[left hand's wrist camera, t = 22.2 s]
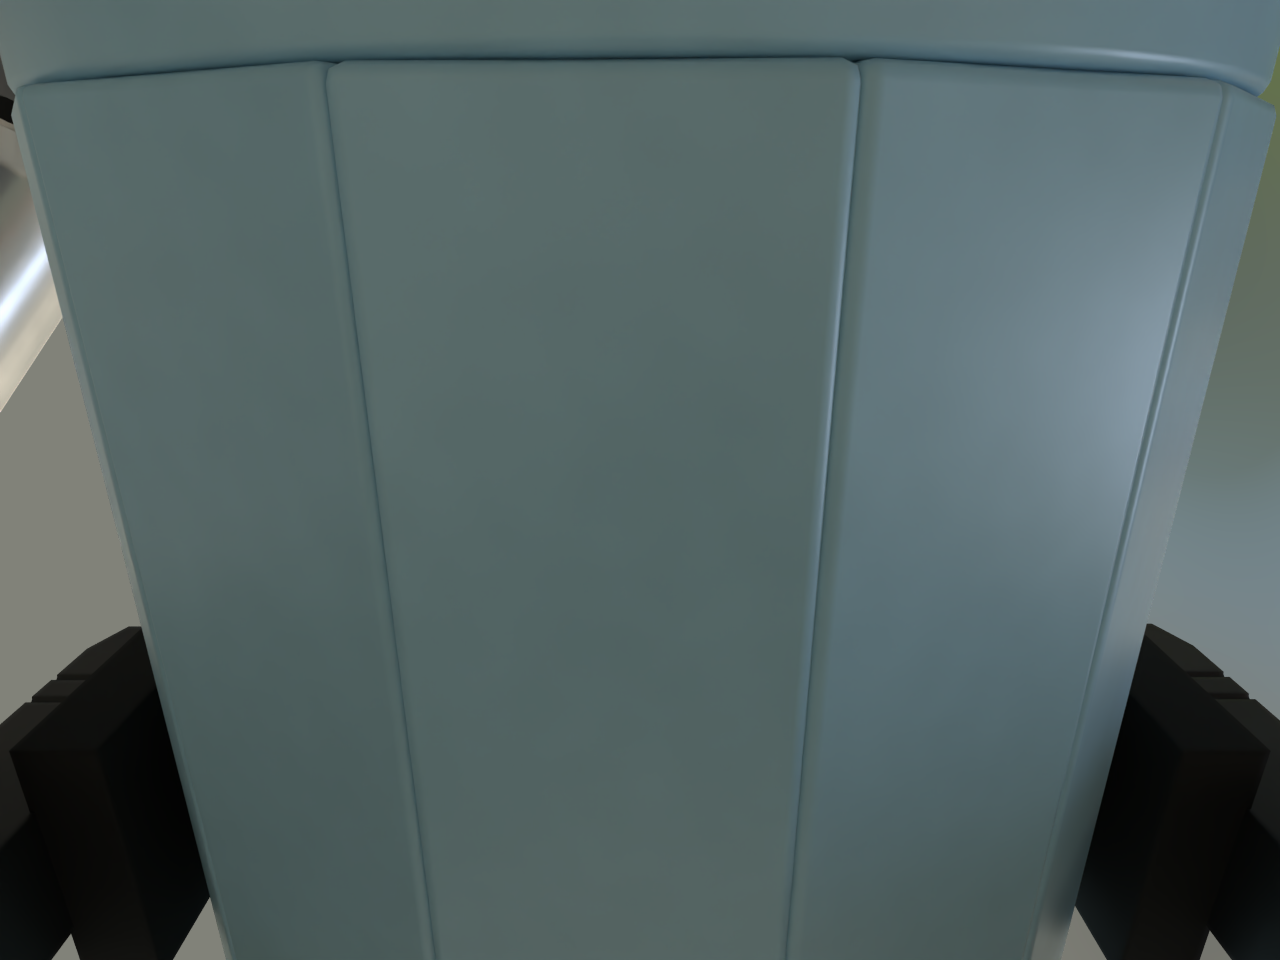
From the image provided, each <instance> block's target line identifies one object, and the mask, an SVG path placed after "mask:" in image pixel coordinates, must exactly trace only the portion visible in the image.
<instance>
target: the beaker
mask: <svg viewBox="0 0 1280 960" xmlns="http://www.w3.org/2000/svg"><path fill="white" fill-rule="evenodd" d="M1279 46H1280V0H0V56H1V60H2V64H3V68H4V72H5V76H6V80H7V84H8V86H9V87H10V89H11V90H12V91H13V93H14V94H15V100H14V104H13V109H12V114H11V116H12V120H13V124H14V128H15V132H16V136H17V140H18V144H19V148H20V152H21V155H22V159H23V163H24V167H25V171H26V175H27V179H28V183H29V187H30V191H31V195H32V199H33V203H34V207H35V210H36V214H37V218H38V222H39V226H40V230H41V234H42V238H43V242H44V246H45V250H46V254H47V258H48V262H49V266H50V269H51V273H52V277H53V281H54V285H55V289H56V293H57V297H58V301H59V305H60V309H61V313H62V317H63V321H64V324H65V328H66V332H67V336H68V340H69V344H70V348H71V352H72V356H73V360H74V364H75V368H76V372H77V376H78V379H79V383H80V387H81V391H82V395H83V399H84V403H85V407H86V411H87V415H88V419H89V422H90V427H91V431H92V434H93V438H94V442H95V446H96V450H97V454H98V458H99V462H100V466H101V470H102V474H103V478H104V482H105V486H106V490H107V493H108V497H109V501H110V505H111V509H112V513H113V517H114V521H115V525H116V529H117V533H118V537H119V541H120V545H121V549H122V552H123V556H124V560H125V564H126V568H127V572H128V576H129V580H130V584H131V588H132V592H133V595H134V599H135V604H136V607H137V611H138V615H139V619H140V623H141V627H142V631H143V635H144V639H145V643H146V647H147V651H148V655H149V659H150V663H151V666H152V670H153V674H154V678H155V682H156V686H157V690H158V694H159V698H160V702H161V706H162V710H163V714H164V718H165V721H166V725H167V729H168V733H169V737H170V741H171V745H172V749H173V753H174V757H175V761H176V765H177V769H178V773H179V776H180V780H181V784H182V788H183V792H184V796H185V800H186V804H187V808H188V812H189V816H190V820H191V824H192V828H193V832H194V835H195V839H196V843H197V847H198V851H199V855H200V859H201V863H202V867H203V871H204V875H205V879H206V883H207V887H208V890H209V894H210V898H211V902H212V906H213V910H214V914H215V918H216V922H217V926H218V930H219V934H220V938H221V942H222V945H223V949H224V953H225V957H226V960H1061V957H1062V953H1063V950H1064V946H1065V942H1066V938H1067V934H1068V930H1069V926H1070V922H1071V918H1072V914H1073V910H1074V907H1075V903H1076V899H1077V895H1078V891H1079V887H1080V883H1081V879H1082V875H1083V871H1084V867H1085V863H1086V860H1087V856H1088V852H1089V848H1090V844H1091V840H1092V836H1093V832H1094V828H1095V824H1096V820H1097V816H1098V813H1099V809H1100V805H1101V801H1102V797H1103V793H1104V789H1105V785H1106V781H1107V777H1108V773H1109V769H1110V766H1111V762H1112V758H1113V754H1114V750H1115V746H1116V742H1117V738H1118V734H1119V730H1120V726H1121V722H1122V719H1123V715H1124V711H1125V707H1126V703H1127V699H1128V695H1129V691H1130V687H1131V683H1132V679H1133V675H1134V672H1135V668H1136V664H1137V660H1138V656H1139V652H1140V648H1141V644H1142V640H1143V636H1144V632H1145V628H1146V624H1147V621H1148V617H1149V613H1150V609H1151V605H1152V601H1153V597H1154V593H1155V589H1156V585H1157V581H1158V577H1159V573H1160V570H1161V566H1162V562H1163V558H1164V554H1165V550H1166V546H1167V542H1168V538H1169V534H1170V530H1171V527H1172V523H1173V519H1174V515H1175V511H1176V507H1177V503H1178V499H1179V495H1180V491H1181V487H1182V483H1183V479H1184V476H1185V472H1186V468H1187V464H1188V460H1189V456H1190V452H1191V448H1192V444H1193V440H1194V436H1195V433H1196V429H1197V425H1198V421H1199V417H1200V413H1201V409H1202V405H1203V401H1204V397H1205V393H1206V389H1207V386H1208V382H1209V378H1210V374H1211V370H1212V366H1213V362H1214V358H1215V354H1216V350H1217V346H1218V342H1219V338H1220V335H1221V331H1222V327H1223V323H1224V319H1225V315H1226V311H1227V307H1228V303H1229V299H1230V295H1231V291H1232V288H1233V283H1234V280H1235V276H1236V272H1237V268H1238V264H1239V260H1240V256H1241V252H1242V248H1243V244H1244V241H1245V237H1246V233H1247V229H1248V225H1249V221H1250V217H1251V213H1252V209H1253V205H1254V201H1255V197H1256V193H1257V190H1258V186H1259V182H1260V178H1261V174H1262V170H1263V166H1264V162H1265V158H1266V154H1267V150H1268V146H1269V143H1270V139H1271V135H1272V131H1273V127H1274V123H1275V119H1276V112H1275V108H1274V105H1272V104H1270V103H1268V102H1266V101H1264V100H1262V99H1260V98H1258V97H1257V96H1259V95H1260V94H1262V93H1263V92H1264V90H1265V89H1266V87H1267V86H1268V84H1269V83H1270V82H1271V78H1272V74H1273V70H1274V66H1275V62H1276V58H1277V54H1278V50H1279Z"/></svg>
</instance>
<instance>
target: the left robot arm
mask: <svg viewBox="0 0 1280 960" xmlns="http://www.w3.org/2000/svg"><path fill="white" fill-rule="evenodd" d="M209 897H210V894H209V890H208V887H207V883H206V879H205V875H204V871H203V867H202V863H201V859H200V855H199V851H198V847H197V843H196V839H195V835H194V832H193V828H192V824H191V820H190V816H189V812H188V808H187V804H186V800H185V796H184V792H183V788H182V784H181V780H180V776H179V773H178V769H177V765H176V761H175V757H174V753H173V749H172V745H171V741H170V737H169V733H168V729H167V725H166V721H165V718H164V714H163V710H162V706H161V702H160V698H159V694H158V690H157V686H156V682H155V678H154V674H153V670H152V666H151V663H150V659H149V655H148V651H147V647H146V643H145V639H144V635H143V631H142V627H127V628H125V629H123V630H121V631H119V632H118V633H116V634H114V635H112V636H110V637H108V638H106V639H105V640H103V641H101V642H99V643H97V644H95V645H93V646H91V647H90V648H88V649H86V650H85V651H84V652H83V653H82V654H81V655H79V656H78V657H77V658H76V659H75V660H74V661H73V662H71V663H70V664H69V665H68V666H67V667H66V668H65V669H63V670H62V671H61V672H60V673H59V674H58V675H57V680H51V681H50V682H48V683H47V684H46V685H45V686H44V687H43V688H42V689H40V690H39V691H38V692H37V693H36V694H35V695H34V696H32V702H31V703H24V704H23V705H22V706H21V707H20V708H19V709H17V710H16V711H15V712H14V713H13V714H12V715H11V716H9V717H8V718H7V719H6V720H5V721H4V722H3V723H1V724H0V960H52V958H53V957H54V956H55V954H56V953H57V952H58V950H59V949H60V948H61V946H62V945H63V943H64V942H65V941H66V939H67V938H68V937H69V935H70V934H72V937H73V940H74V943H75V946H76V949H77V952H78V955H79V958H80V960H173V959H174V957H175V955H176V954H177V952H178V950H179V948H180V947H181V945H182V943H183V942H184V940H185V938H186V937H187V935H188V933H189V931H190V930H191V928H192V926H193V925H194V923H195V921H196V920H197V918H198V916H199V914H200V913H201V911H202V909H203V908H204V906H205V904H206V903H207V901H208V899H209ZM1075 906H1076V908H1077V910H1078V911H1079V913H1080V915H1081V916H1082V918H1083V920H1084V922H1085V923H1086V925H1087V927H1088V928H1089V930H1090V932H1091V934H1092V935H1093V937H1094V939H1095V940H1096V942H1097V944H1098V945H1099V947H1100V949H1101V950H1102V952H1103V954H1104V955H1105V957H1106V959H1107V960H1200V957H1201V954H1202V951H1203V948H1204V945H1205V942H1206V940H1207V936H1208V934H1209V931H1211V932H1212V934H1213V935H1214V936H1215V938H1216V939H1217V940H1218V942H1219V943H1220V944H1221V946H1222V947H1223V948H1224V950H1225V951H1226V953H1227V954H1228V955H1229V956H1230V958H1231V959H1232V960H1280V720H1279V719H1277V718H1276V717H1275V716H1274V715H1273V714H1272V713H1270V712H1269V711H1268V710H1267V709H1266V708H1265V707H1264V706H1262V705H1261V704H1260V703H1259V702H1258V701H1257V700H1255V699H1249V694H1248V693H1247V692H1246V691H1245V690H1244V689H1243V688H1242V687H1240V686H1239V685H1238V684H1237V683H1236V682H1235V681H1233V680H1232V679H1231V678H1230V677H1224V675H1223V671H1222V670H1221V669H1220V668H1218V667H1217V666H1216V665H1215V664H1214V663H1213V662H1211V661H1210V660H1209V659H1208V658H1207V657H1206V656H1205V655H1203V654H1202V653H1201V652H1200V651H1199V650H1198V649H1196V648H1195V647H1194V646H1193V645H1191V644H1189V643H1187V642H1185V641H1183V640H1181V639H1179V638H1178V637H1176V636H1174V635H1172V634H1170V633H1168V632H1166V631H1164V630H1163V629H1161V628H1159V627H1157V626H1155V625H1153V624H1146V628H1145V632H1144V636H1143V640H1142V644H1141V648H1140V652H1139V656H1138V660H1137V664H1136V668H1135V672H1134V675H1133V679H1132V683H1131V687H1130V691H1129V695H1128V699H1127V703H1126V707H1125V711H1124V715H1123V719H1122V722H1121V726H1120V730H1119V734H1118V738H1117V742H1116V746H1115V750H1114V754H1113V758H1112V762H1111V766H1110V769H1109V773H1108V777H1107V781H1106V785H1105V789H1104V793H1103V797H1102V801H1101V805H1100V809H1099V813H1098V816H1097V820H1096V824H1095V828H1094V832H1093V836H1092V840H1091V844H1090V848H1089V852H1088V856H1087V860H1086V863H1085V867H1084V871H1083V875H1082V879H1081V883H1080V887H1079V891H1078V895H1077V899H1076V903H1075Z"/></svg>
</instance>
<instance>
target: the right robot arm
mask: <svg viewBox="0 0 1280 960" xmlns="http://www.w3.org/2000/svg"><path fill="white" fill-rule="evenodd" d="M14 100H15V94H14V93H13V91H12V90H11V89H10V87H9V86H8V84H7V80H6V76H5V72H4V68H3V64H2V60H1V56H0V412H1V411H2V409H3V407H4V406H5V404H6V403H7V401H8V400H9V398H10V397H11V395H12V394H13V392H14V391H15V389H16V387H17V386H18V384H19V383H20V381H21V380H22V378H23V377H24V375H25V374H26V372H27V371H28V369H29V368H30V366H31V364H32V363H33V362H34V360H35V358H36V357H37V355H38V354H39V352H40V351H41V349H42V348H43V346H44V345H45V343H46V342H47V340H48V338H49V337H50V335H51V334H52V332H53V331H54V329H55V328H56V326H57V325H58V323H59V322H60V320H61V319H62V313H61V309H60V305H59V301H58V297H57V293H56V289H55V285H54V281H53V277H52V273H51V269H50V266H49V262H48V258H47V254H46V250H45V246H44V242H43V238H42V234H41V230H40V226H39V222H38V218H37V214H36V210H35V207H34V203H33V199H32V195H31V191H30V187H29V183H28V179H27V175H26V171H25V167H24V163H23V159H22V155H21V152H20V148H19V144H18V140H17V136H16V132H15V128H14V124H13V120H12V116H11V114H12V109H13V104H14Z"/></svg>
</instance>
